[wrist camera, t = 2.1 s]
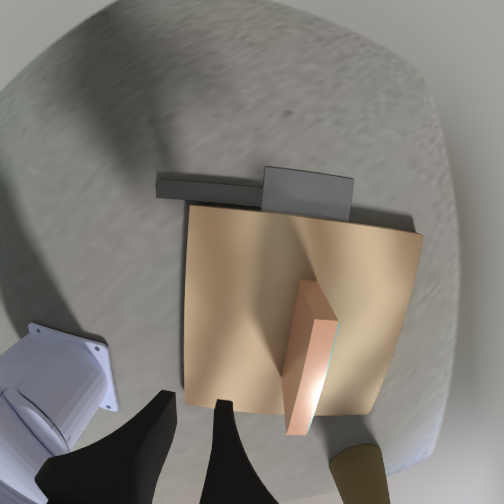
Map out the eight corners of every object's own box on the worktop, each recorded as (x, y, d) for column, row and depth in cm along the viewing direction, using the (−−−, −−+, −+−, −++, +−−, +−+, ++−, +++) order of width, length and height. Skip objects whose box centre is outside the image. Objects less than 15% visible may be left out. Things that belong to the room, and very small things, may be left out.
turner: (158, 216, 20) (155, 218, 19) (163, 159, 19) (159, 159, 18) (345, 236, 20) (348, 238, 19) (353, 179, 19) (356, 179, 18)
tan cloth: (187, 395, 23) (184, 403, 22) (193, 204, 20) (190, 205, 18) (365, 405, 23) (369, 414, 22) (416, 232, 20) (423, 235, 18)
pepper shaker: (355, 439, 24) (382, 524, 14) (391, 449, 25) (420, 522, 14) (318, 469, 25) (330, 549, 15) (355, 477, 26) (373, 548, 15)
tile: (281, 378, 21) (286, 434, 15) (299, 279, 19) (314, 319, 13) (298, 379, 21) (308, 434, 15) (318, 281, 19) (341, 321, 13)
